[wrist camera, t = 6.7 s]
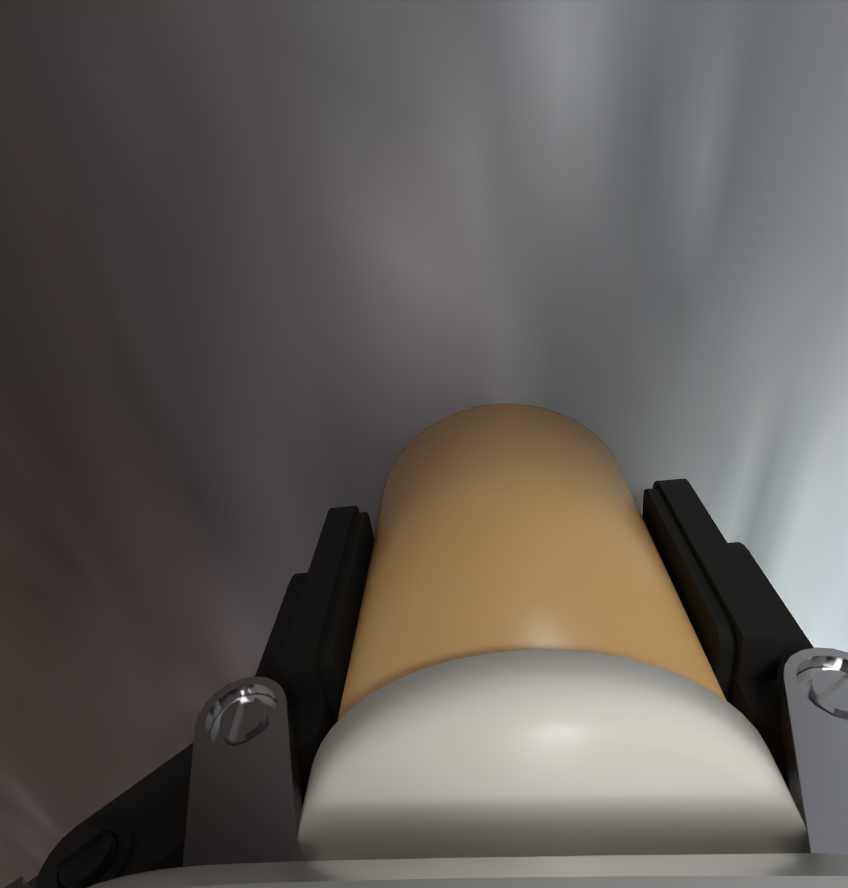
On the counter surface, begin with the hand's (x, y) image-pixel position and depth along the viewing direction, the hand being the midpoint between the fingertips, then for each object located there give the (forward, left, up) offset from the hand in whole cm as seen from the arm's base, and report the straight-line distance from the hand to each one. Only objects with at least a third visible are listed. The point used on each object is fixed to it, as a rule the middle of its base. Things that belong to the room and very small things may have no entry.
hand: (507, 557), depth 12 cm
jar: (0, 0, -2) cm, 2 cm away
